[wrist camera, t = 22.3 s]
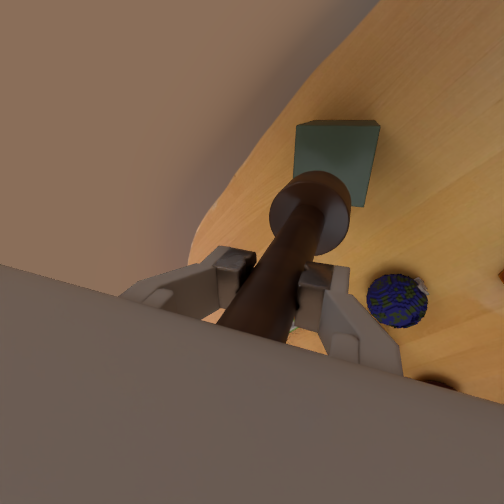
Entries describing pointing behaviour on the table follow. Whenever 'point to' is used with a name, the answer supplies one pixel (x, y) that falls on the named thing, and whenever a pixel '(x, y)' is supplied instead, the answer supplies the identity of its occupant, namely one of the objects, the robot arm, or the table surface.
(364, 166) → the stand
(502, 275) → the book monster
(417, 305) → the ball
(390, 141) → the table surface
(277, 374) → the robot arm
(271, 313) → the masher with cylindrical head
